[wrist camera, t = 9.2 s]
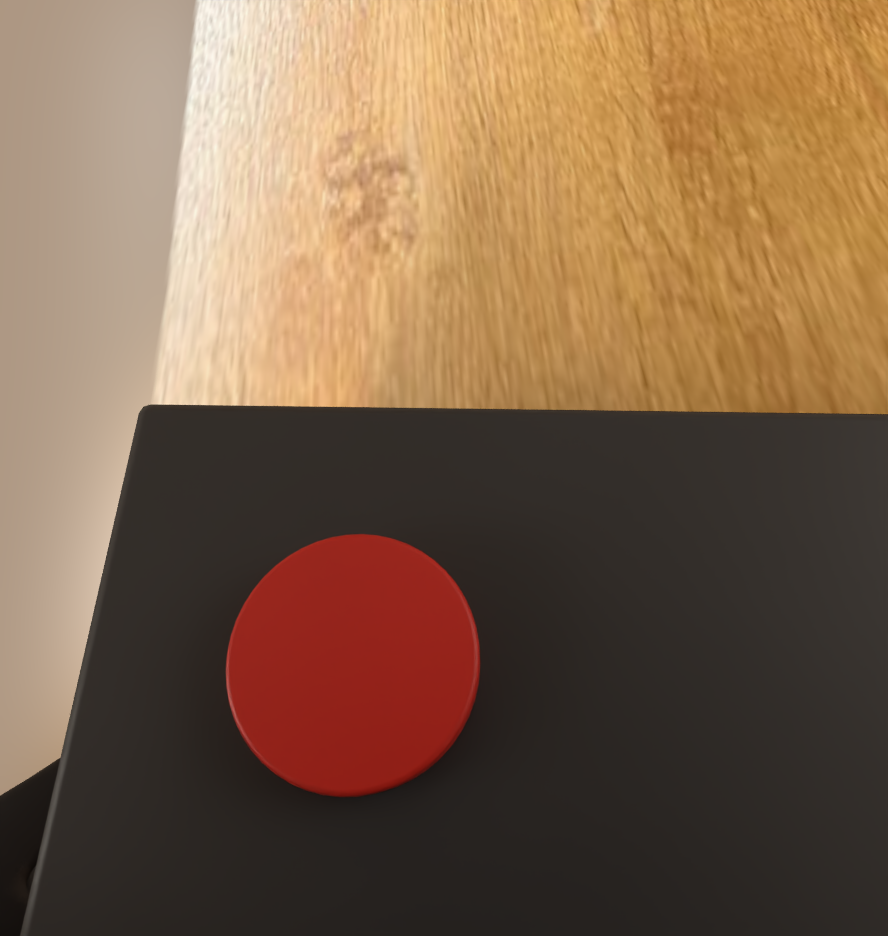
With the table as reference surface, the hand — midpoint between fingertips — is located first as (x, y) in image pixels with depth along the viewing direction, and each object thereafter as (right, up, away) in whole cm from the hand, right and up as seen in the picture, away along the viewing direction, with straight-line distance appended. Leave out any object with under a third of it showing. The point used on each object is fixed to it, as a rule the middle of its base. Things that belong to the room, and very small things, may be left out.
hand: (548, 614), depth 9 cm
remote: (0, -4, +6) cm, 7 cm away
